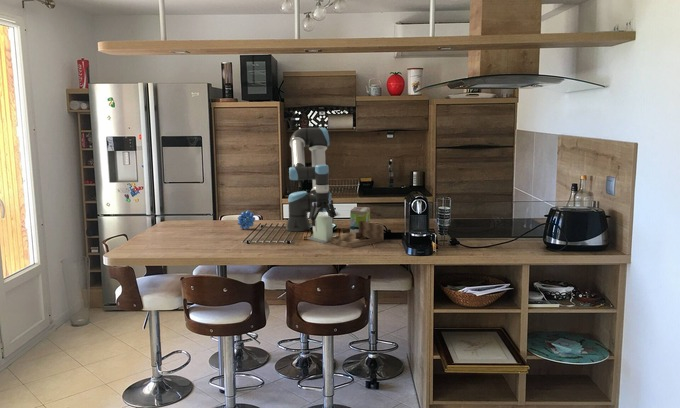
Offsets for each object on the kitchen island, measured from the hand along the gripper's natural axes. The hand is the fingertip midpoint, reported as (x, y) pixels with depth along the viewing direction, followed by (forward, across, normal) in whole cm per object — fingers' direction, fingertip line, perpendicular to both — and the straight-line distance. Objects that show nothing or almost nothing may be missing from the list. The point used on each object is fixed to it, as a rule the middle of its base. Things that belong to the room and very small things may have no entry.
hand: (322, 230), depth 321 cm
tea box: (+6, +28, -1) cm, 29 cm away
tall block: (+5, 0, 0) cm, 5 cm away
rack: (+5, +10, -17) cm, 21 cm away
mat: (+5, 0, 0) cm, 5 cm away
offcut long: (+6, +5, -17) cm, 19 cm away
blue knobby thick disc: (+6, -17, +55) cm, 58 cm away
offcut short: (+3, +4, -17) cm, 18 cm away
